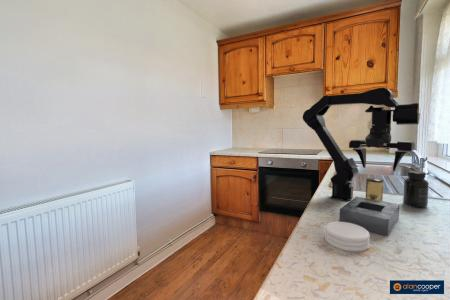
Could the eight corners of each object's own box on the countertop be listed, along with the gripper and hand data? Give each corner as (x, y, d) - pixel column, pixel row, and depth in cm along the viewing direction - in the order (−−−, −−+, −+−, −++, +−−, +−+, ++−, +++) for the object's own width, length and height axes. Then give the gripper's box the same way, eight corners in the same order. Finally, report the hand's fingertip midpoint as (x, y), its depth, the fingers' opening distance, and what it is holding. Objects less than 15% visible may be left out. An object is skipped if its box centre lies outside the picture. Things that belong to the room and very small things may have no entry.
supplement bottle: (425, 203, 85) (427, 171, 84) (429, 209, 79) (432, 174, 78) (401, 201, 89) (403, 169, 87) (404, 206, 83) (406, 172, 81)
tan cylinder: (363, 207, 82) (364, 179, 81) (367, 204, 86) (368, 177, 85) (380, 211, 79) (381, 181, 78) (383, 207, 82) (384, 179, 81)
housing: (339, 223, 70) (339, 208, 69) (355, 209, 81) (356, 196, 80) (387, 236, 61) (388, 219, 61) (398, 218, 73) (399, 204, 72)
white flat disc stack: (318, 243, 59) (318, 229, 59) (332, 230, 66) (333, 217, 66) (362, 258, 52) (363, 243, 52) (374, 241, 59) (374, 228, 59)
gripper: (343, 125, 84) (342, 169, 85) (409, 124, 70) (406, 176, 72) (355, 125, 91) (353, 165, 93) (416, 124, 77) (413, 171, 79)
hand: (378, 169), depth 84 cm, fingers open, 9 cm apart
